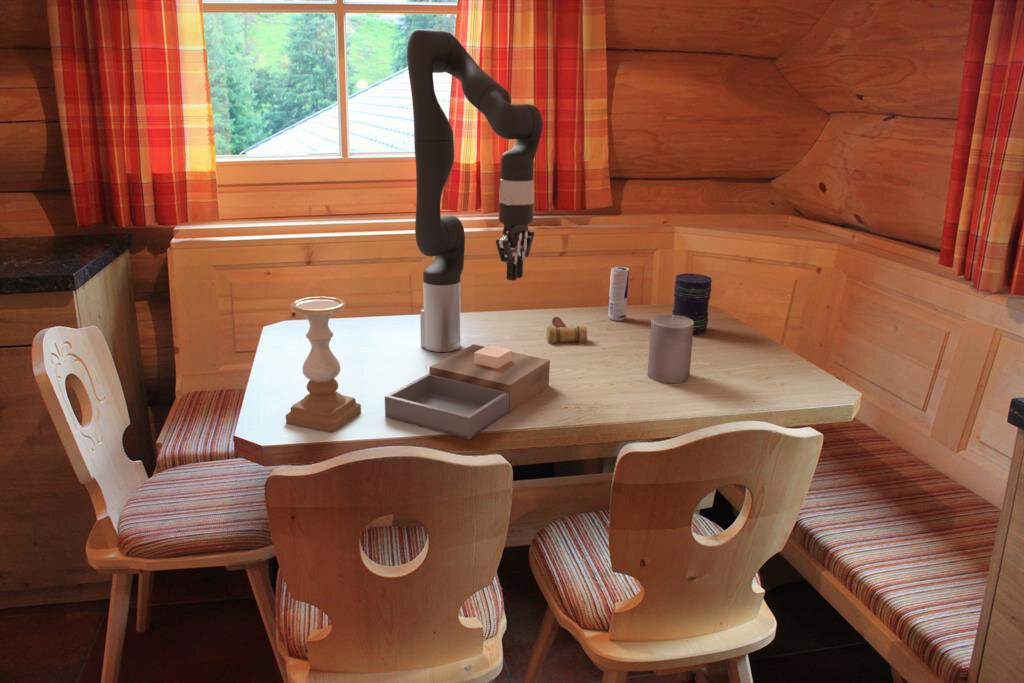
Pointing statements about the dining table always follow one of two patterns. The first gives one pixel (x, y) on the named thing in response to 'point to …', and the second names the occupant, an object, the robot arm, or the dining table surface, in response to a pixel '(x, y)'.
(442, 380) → the box
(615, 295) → the beverage can
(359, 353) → the dining table surface
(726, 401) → the dining table surface
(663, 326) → the pillar candle
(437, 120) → the robot arm
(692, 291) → the storage jar
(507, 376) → the brown wooden box
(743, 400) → the dining table surface
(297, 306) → the candle holder
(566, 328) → the gavel
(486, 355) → the tile
